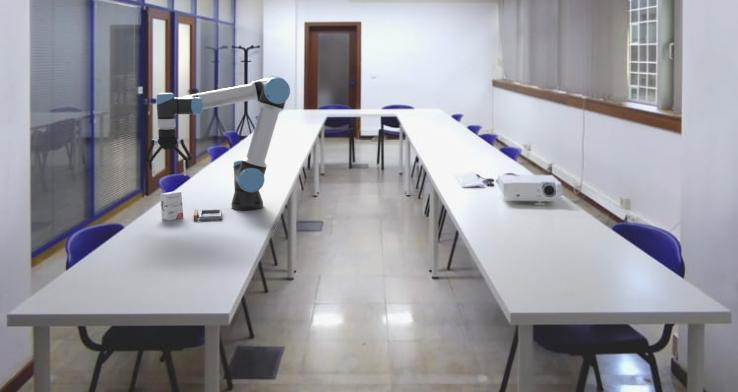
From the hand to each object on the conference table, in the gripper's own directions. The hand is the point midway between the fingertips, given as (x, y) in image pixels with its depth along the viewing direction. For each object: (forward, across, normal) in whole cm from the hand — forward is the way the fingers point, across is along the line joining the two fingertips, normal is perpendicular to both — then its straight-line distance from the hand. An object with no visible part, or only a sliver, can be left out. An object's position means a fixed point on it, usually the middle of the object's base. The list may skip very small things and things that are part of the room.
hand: (169, 175), depth 318 cm
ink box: (+20, 0, 0) cm, 20 cm away
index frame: (+20, -17, +1) cm, 26 cm away
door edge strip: (+20, -11, +1) cm, 22 cm away
